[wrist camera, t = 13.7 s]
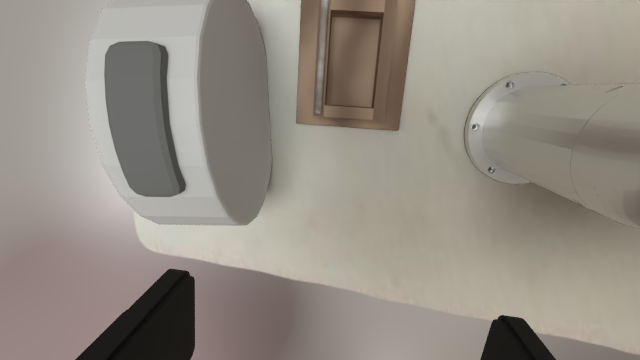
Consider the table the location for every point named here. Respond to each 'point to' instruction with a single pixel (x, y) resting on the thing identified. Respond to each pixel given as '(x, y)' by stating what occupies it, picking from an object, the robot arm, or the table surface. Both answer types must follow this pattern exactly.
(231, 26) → the alarm clock
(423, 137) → the table surface
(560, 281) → the table surface
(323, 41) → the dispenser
